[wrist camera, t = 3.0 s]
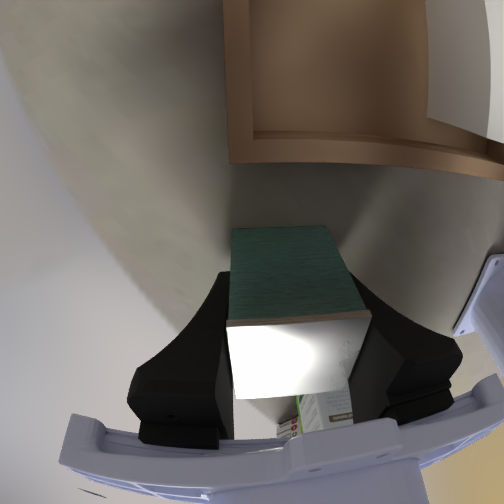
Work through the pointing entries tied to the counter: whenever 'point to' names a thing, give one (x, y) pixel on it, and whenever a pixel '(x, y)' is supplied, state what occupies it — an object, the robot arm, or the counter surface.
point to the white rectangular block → (467, 65)
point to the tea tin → (291, 313)
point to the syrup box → (325, 410)
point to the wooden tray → (339, 88)
